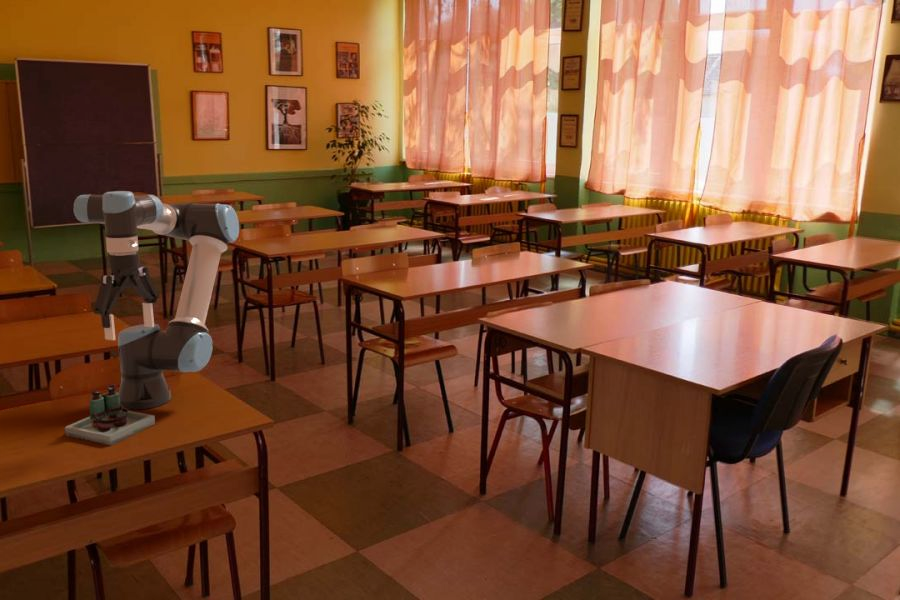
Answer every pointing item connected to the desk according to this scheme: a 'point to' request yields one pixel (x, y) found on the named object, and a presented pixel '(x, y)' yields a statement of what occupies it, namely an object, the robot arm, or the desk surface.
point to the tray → (115, 434)
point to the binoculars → (106, 409)
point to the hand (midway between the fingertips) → (130, 333)
